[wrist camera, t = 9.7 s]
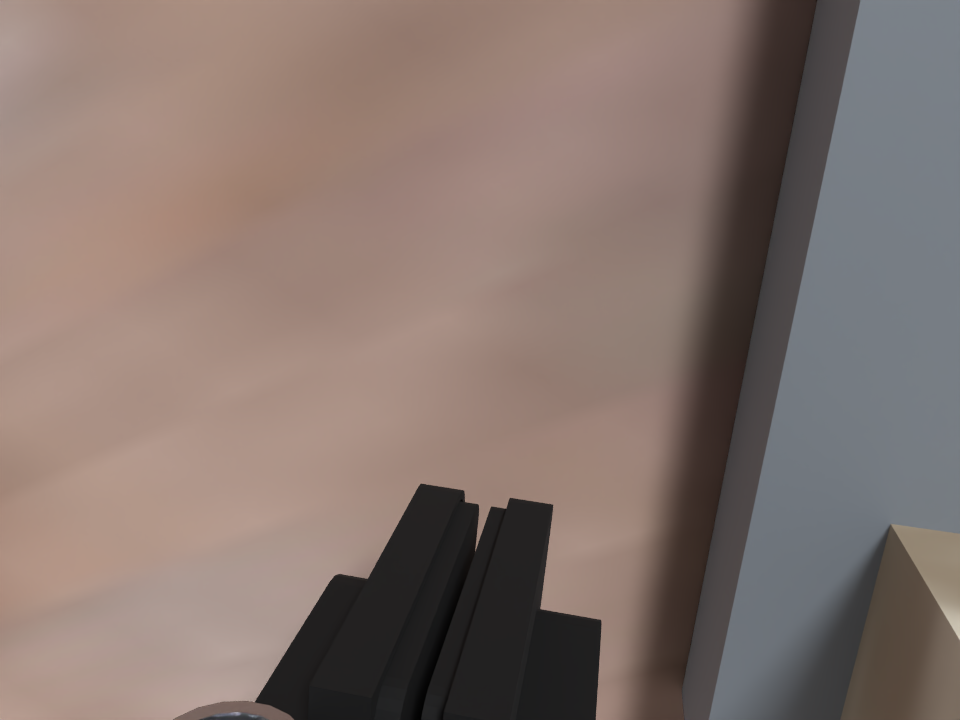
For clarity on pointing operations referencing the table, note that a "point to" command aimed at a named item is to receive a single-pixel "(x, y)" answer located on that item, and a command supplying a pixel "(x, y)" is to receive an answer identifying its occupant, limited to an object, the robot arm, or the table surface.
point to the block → (911, 632)
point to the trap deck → (841, 368)
